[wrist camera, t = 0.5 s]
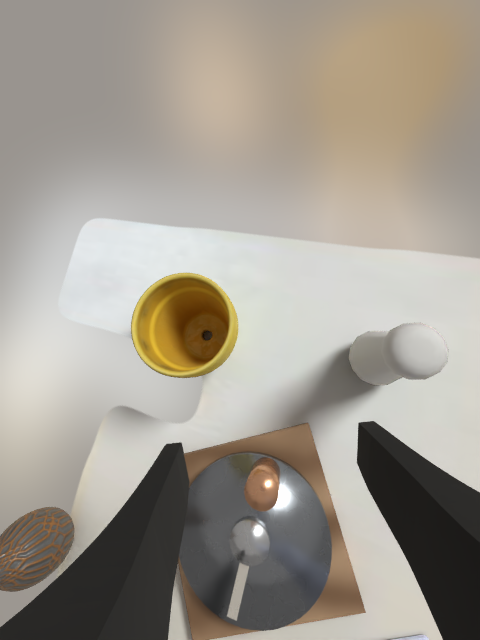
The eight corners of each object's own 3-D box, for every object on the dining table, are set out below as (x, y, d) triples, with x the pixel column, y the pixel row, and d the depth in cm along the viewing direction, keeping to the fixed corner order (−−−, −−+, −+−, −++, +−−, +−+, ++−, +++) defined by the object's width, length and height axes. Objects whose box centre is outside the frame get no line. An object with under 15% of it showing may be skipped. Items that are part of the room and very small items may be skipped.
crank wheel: (310, 649, 28) (317, 730, 22) (162, 581, 31) (130, 634, 25) (344, 479, 30) (359, 507, 24) (203, 432, 34) (182, 446, 27)
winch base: (363, 604, 29) (365, 612, 28) (196, 633, 31) (193, 642, 30) (308, 422, 33) (308, 423, 32) (163, 458, 35) (159, 461, 34)
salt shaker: (337, 370, 34) (364, 368, 21) (355, 326, 34) (393, 298, 22) (387, 393, 32) (449, 405, 20) (406, 346, 33) (477, 329, 20)
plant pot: (224, 282, 38) (203, 252, 29) (262, 352, 36) (252, 343, 26) (157, 321, 39) (114, 304, 29) (190, 392, 36) (154, 398, 27)
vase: (90, 505, 36) (27, 546, 27) (76, 568, 35) (7, 631, 26) (42, 492, 37) (-31, 527, 29) (28, 552, 36) (-53, 607, 27)
